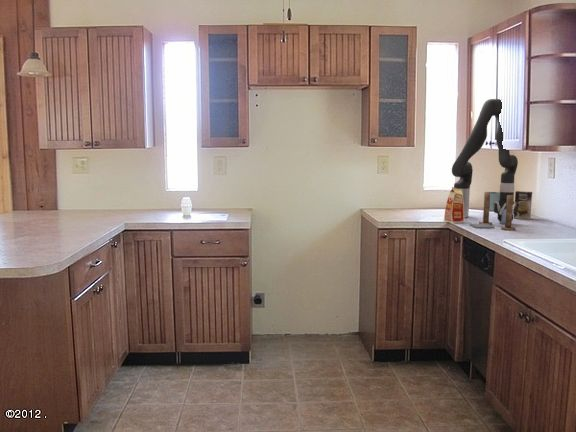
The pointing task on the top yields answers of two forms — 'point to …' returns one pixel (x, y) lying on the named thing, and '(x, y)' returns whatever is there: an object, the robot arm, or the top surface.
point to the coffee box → (523, 205)
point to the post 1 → (486, 209)
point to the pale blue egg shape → (503, 217)
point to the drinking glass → (494, 200)
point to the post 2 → (509, 214)
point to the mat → (482, 226)
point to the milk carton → (455, 207)
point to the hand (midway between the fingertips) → (505, 220)
